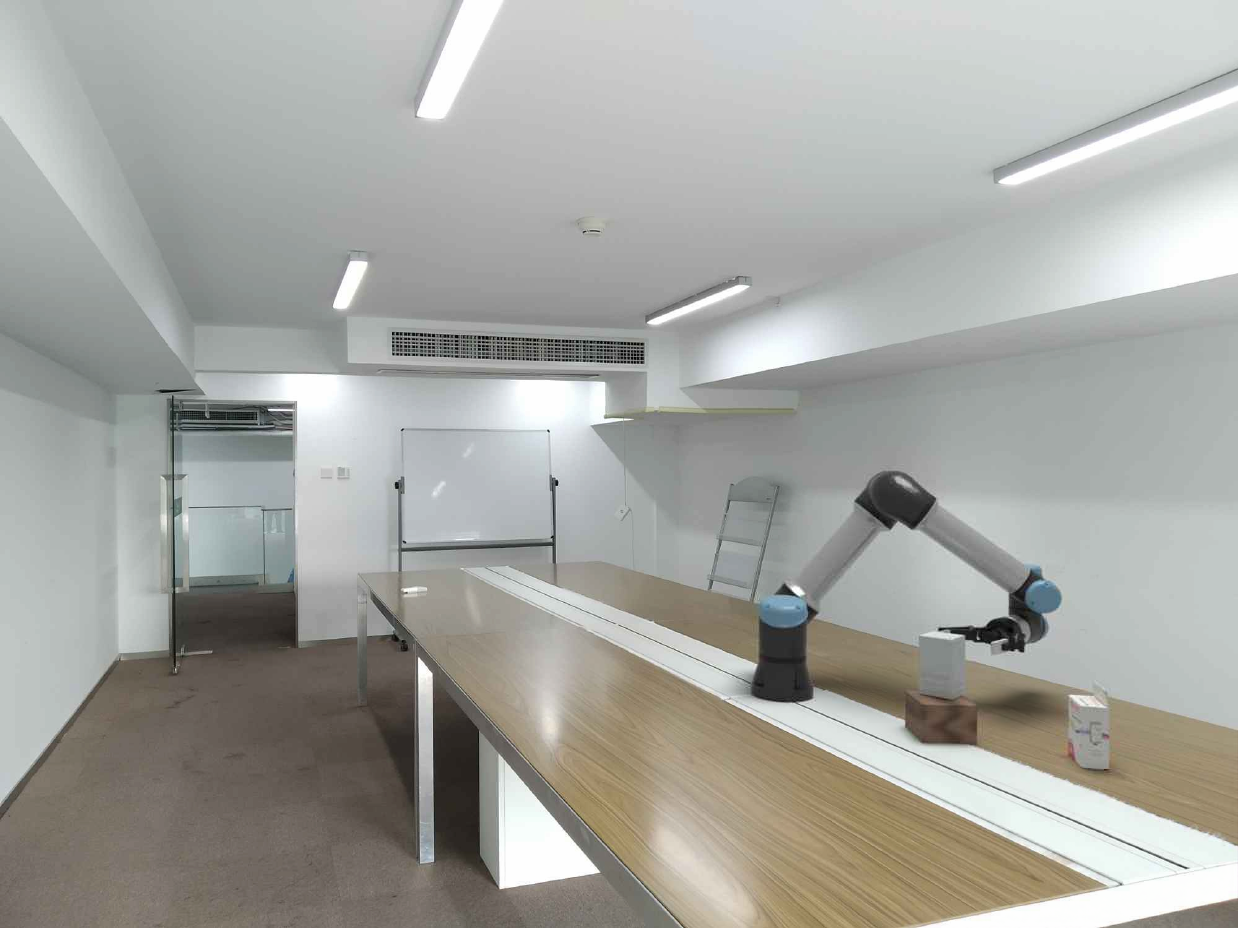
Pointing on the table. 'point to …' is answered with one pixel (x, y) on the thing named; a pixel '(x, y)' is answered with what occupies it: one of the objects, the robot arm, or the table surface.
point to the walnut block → (941, 719)
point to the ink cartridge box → (1089, 729)
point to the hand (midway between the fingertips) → (962, 643)
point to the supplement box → (942, 665)
